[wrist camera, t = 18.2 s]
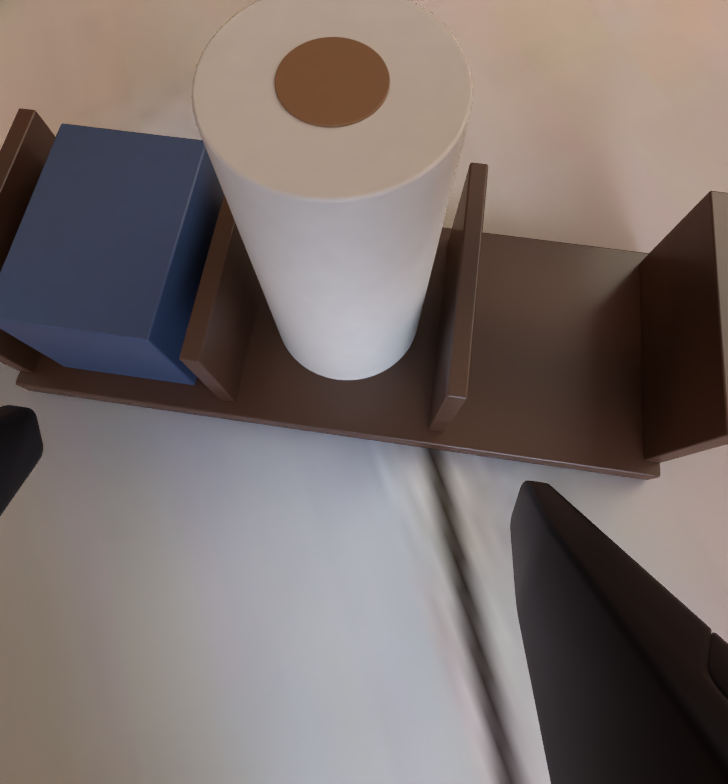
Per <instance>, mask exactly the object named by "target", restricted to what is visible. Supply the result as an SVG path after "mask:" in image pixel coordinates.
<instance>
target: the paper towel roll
mask: <svg viewBox="0 0 728 784" xmlns="http://www.w3.org/2000/svg"><path fill="white" fill-rule="evenodd" d="M472 103H473V84H472V77H471V72H470V68H469V65H468V62H467V59H466V56H465V54H464V52H463V50H462V48H461V46H460V44H459V43H458V42H457V40H456V39H455V37H454V36H453V34H452V33H451V32H450V31H449V30H448V29H447V28H446V26H445V25H444V24H443V23H442V22H441V21H440V20H438V19H437V18H436V17H435V16H434V15H432V14H431V13H430V12H428V11H427V10H425V9H424V8H422V7H421V6H419V5H418V4H416V3H414V2H412V1H410V0H259V1H257V2H255V3H253V4H251V5H250V6H248V7H246V8H244V9H243V10H241V11H240V12H239V13H237V14H236V15H235V16H233V17H232V18H231V19H229V20H228V21H227V22H226V23H225V24H224V25H223V26H222V27H221V28H220V29H219V30H218V31H217V32H216V34H215V35H214V36H213V37H212V38H211V40H210V41H209V43H208V44H207V46H206V48H205V49H204V51H203V52H202V55H201V57H200V59H199V62H198V64H197V66H196V70H195V74H194V78H193V87H192V106H193V113H194V117H195V121H196V125H197V127H198V130H199V132H200V135H201V137H202V140H203V142H204V145H205V147H206V150H207V152H208V155H209V157H210V160H211V162H212V165H213V167H214V170H215V172H216V175H217V178H218V180H219V183H220V185H221V188H222V190H223V193H224V195H225V198H226V200H227V203H228V205H229V208H230V210H231V213H232V215H233V218H234V220H235V223H236V225H237V228H238V230H239V233H240V235H241V238H242V240H243V243H244V245H245V248H246V250H247V253H248V255H249V258H250V260H251V263H252V265H253V268H254V270H255V273H256V275H257V278H258V280H259V283H260V285H261V288H262V290H263V293H264V295H265V298H266V300H267V303H268V305H269V308H270V310H271V313H272V315H273V318H274V321H275V323H276V326H277V328H278V331H279V333H280V336H281V338H282V340H283V342H284V345H285V346H286V348H287V349H288V351H289V352H290V354H291V355H292V356H293V357H294V358H295V359H296V360H297V361H298V362H299V363H300V364H301V365H303V366H304V367H305V368H307V369H308V370H310V371H312V372H314V373H316V374H318V375H321V376H324V377H327V378H331V379H336V380H358V379H364V378H368V377H371V376H374V375H377V374H379V373H381V372H383V371H385V370H387V369H388V368H390V367H391V366H393V365H394V364H395V363H396V362H398V361H399V360H400V359H401V358H402V356H403V355H404V354H405V353H406V352H407V350H408V349H409V347H410V345H411V344H412V342H413V340H414V337H415V334H416V332H417V328H418V324H419V320H420V316H421V311H422V307H423V303H424V299H425V295H426V291H427V287H428V283H429V279H430V275H431V271H432V267H433V263H434V259H435V255H436V251H437V247H438V243H439V239H440V235H441V231H442V227H443V222H444V218H445V214H446V210H447V206H448V202H449V198H450V194H451V190H452V186H453V182H454V178H455V174H456V170H457V166H458V162H459V158H460V154H461V150H462V146H463V142H464V137H465V133H466V129H467V125H468V121H469V117H470V112H471V108H472Z"/></svg>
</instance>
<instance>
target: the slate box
mask: <svg viewBox="0 0 728 784" xmlns="http://www.w3.org/2000/svg"><path fill="white" fill-rule="evenodd" d="M223 196H224V193H223V190H222V188H221V185H220V183H219V180H218V178H217V175H216V172H215V170H214V167H213V165H212V162H211V160H210V157H209V155H208V152H207V150H206V147H205V145H204V142H203V140H195V139H186V138H178V137H170V136H161V135H153V134H145V133H137V132H128V131H120V130H112V129H103V128H95V127H87V126H78V125H70V124H61V126H60V128H59V131H58V133H57V135H56V138H55V140H54V143H53V145H52V148H51V150H50V153H49V155H48V157H47V160H46V162H45V165H44V167H43V170H42V172H41V174H40V177H39V179H38V182H37V184H36V187H35V189H34V192H33V194H32V196H31V199H30V201H29V204H28V206H27V209H26V211H25V213H24V216H23V218H22V221H21V223H20V226H19V228H18V230H17V233H16V235H15V238H14V240H13V243H12V245H11V248H10V250H9V252H8V255H7V257H6V260H5V262H4V265H3V267H2V269H1V272H0V329H2V330H4V331H5V332H7V333H9V334H10V335H12V336H14V337H15V338H17V339H19V340H20V341H22V342H24V343H25V344H27V345H29V346H30V347H32V348H34V349H35V350H37V351H39V352H41V353H42V354H44V355H46V356H47V357H49V358H51V359H52V360H54V361H56V362H57V363H59V364H61V365H62V366H64V367H69V368H76V369H83V370H90V371H97V372H104V373H111V374H118V375H125V376H132V377H139V378H146V379H153V380H160V381H167V382H175V383H182V384H189V385H195V383H196V379H197V376H196V375H195V374H194V373H193V372H192V371H191V370H190V369H189V368H188V367H187V366H186V365H185V364H184V363H183V362H182V361H181V360H180V359H179V357H180V353H181V349H182V346H183V342H184V338H185V335H186V331H187V328H188V324H189V320H190V317H191V313H192V309H193V306H194V302H195V298H196V295H197V291H198V287H199V284H200V280H201V277H202V273H203V269H204V266H205V262H206V258H207V255H208V251H209V247H210V244H211V240H212V236H213V233H214V229H215V226H216V222H217V218H218V215H219V211H220V207H221V204H222V200H223Z"/></svg>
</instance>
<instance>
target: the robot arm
mask: <svg viewBox="0 0 728 784" xmlns="http://www.w3.org/2000/svg"><path fill="white" fill-rule="evenodd" d="M42 453H43V442H42V438H41V434H40V430H39V425H38V421H37V417H36V414H35V413H34V411H33V410H31V409H30V408H26V407H19V406H12V405H7V406H2V407H0V516H1V514H2V513H3V511H4V510H5V509H6V507H7V506H8V504H9V503H10V501H11V500H12V499H13V497H14V496H15V494H16V493H17V491H18V490H19V488H20V487H21V486H22V484H23V483H24V481H25V480H26V478H27V477H28V476H29V474H30V473H31V471H32V470H33V468H34V467H35V466H36V464H37V463H38V461H39V460H40V458H41V456H42ZM510 530H511V543H512V556H513V569H514V582H515V595H516V605H517V612H518V618H519V624H520V629H521V634H522V639H523V644H524V649H525V654H526V659H527V664H528V669H529V674H530V679H531V684H532V689H533V694H534V699H535V704H536V709H537V715H538V720H539V725H540V730H541V735H542V740H543V745H544V750H545V755H546V760H547V765H548V770H549V775H550V780H551V784H728V643H727V642H725V641H724V640H723V639H722V638H721V637H720V636H719V635H718V634H716V633H712V634H711V628H710V627H708V626H707V625H706V624H705V623H704V622H703V621H702V620H701V619H699V618H698V617H697V616H696V615H695V614H694V613H693V612H692V611H690V610H689V609H688V608H687V607H686V606H685V605H684V604H683V603H682V602H680V601H679V600H678V599H677V598H676V597H675V596H674V595H673V594H671V593H670V592H669V591H668V590H667V589H666V588H665V587H664V586H662V585H661V584H660V583H659V582H658V581H657V580H656V579H655V578H654V577H652V576H651V575H650V574H649V573H648V572H647V571H646V570H645V569H643V568H642V567H641V566H640V565H639V564H638V563H637V562H636V561H634V560H633V559H632V558H631V557H630V556H629V555H628V554H627V553H625V552H624V551H623V550H622V549H621V548H620V547H619V546H618V545H617V544H615V543H614V542H613V541H612V540H611V539H610V538H609V537H608V536H606V535H605V534H604V533H603V532H602V531H601V530H600V529H599V528H597V527H596V526H595V525H594V524H593V523H592V522H591V521H590V520H589V519H587V518H586V517H585V516H584V515H583V514H582V513H581V512H580V511H578V510H577V509H576V508H575V507H574V506H573V505H572V504H571V503H569V502H568V501H567V500H566V499H565V498H564V497H563V496H562V495H560V494H559V493H558V492H557V491H556V490H555V489H554V488H553V487H552V486H550V485H549V484H547V483H542V482H535V481H525V482H524V483H523V484H522V486H521V488H520V491H519V494H518V497H517V501H516V504H515V507H514V510H513V513H512V517H511V524H510Z"/></svg>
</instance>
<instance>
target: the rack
mask: <svg viewBox="0 0 728 784" xmlns="http://www.w3.org/2000/svg"><path fill="white" fill-rule="evenodd" d="M55 138H56V137H55V136H54V134H53V133H52V132H51V130H50V129H49V128H48V126H47V125H46V124H45V122H44V121H43V120H42V118H41V117H40V116H39V114H38V113H37V112H36V111H35V110H29V109H19V110H18V112H17V115H16V117H15V119H14V121H13V124H12V126H11V128H10V130H9V133H8V135H7V137H6V139H5V141H4V144H3V146H2V148H1V150H0V272H1V269H2V267H3V265H4V262H5V260H6V257H7V255H8V252H9V250H10V248H11V245H12V243H13V240H14V238H15V235H16V233H17V230H18V228H19V226H20V223H21V221H22V218H23V216H24V213H25V211H26V209H27V206H28V204H29V201H30V199H31V196H32V194H33V192H34V189H35V187H36V184H37V182H38V179H39V177H40V174H41V172H42V170H43V167H44V165H45V162H46V160H47V157H48V155H49V153H50V150H51V148H52V145H53V143H54V140H55ZM487 175H488V165H487V164H479V163H471V164H470V165H469V169H468V173H467V176H466V180H465V183H464V187H463V191H462V194H461V198H460V201H459V205H458V209H457V212H456V216H455V219H454V223H453V227H452V229H450V228H442V231H441V235H440V239H439V243H438V247H437V251H436V255H435V259H434V263H433V267H432V271H431V275H430V279H429V283H428V287H427V291H426V295H425V299H424V303H423V307H422V311H421V316H420V320H419V324H418V328H417V332H416V334H415V337H414V340H413V342H412V344H411V345H410V347H409V349H408V350H407V352H406V353H405V354H404V355H403V356H402V358H401V359H400V360H399V361H398V362H396V363H395V364H394V365H393V366H391V367H390V368H388V369H387V370H385V371H383V372H381V373H379V374H377V375H374V376H371V377H368V378H364V379H358V380H336V379H331V378H327V377H324V376H321V375H318V374H316V373H314V372H312V371H310V370H308V369H307V368H305V367H304V366H303V365H301V364H300V363H299V362H298V361H297V360H296V359H295V358H294V357H293V356H292V355H291V354H290V352H289V351H288V349H287V348H286V346H285V345H284V342H283V340H282V338H281V336H280V333H279V331H278V328H277V326H276V323H275V321H274V318H273V315H272V313H271V310H270V308H269V305H268V303H267V300H266V298H265V295H264V293H263V290H262V288H261V285H260V283H259V280H258V278H257V275H256V273H255V270H254V268H253V265H252V263H251V260H250V258H249V255H248V253H247V250H246V248H245V245H244V243H243V240H242V238H241V235H240V233H239V230H238V228H237V225H236V223H235V220H234V218H233V215H232V213H231V210H230V208H229V205H228V203H227V200H226V198H225V195H224V196H223V200H222V204H221V207H220V211H219V215H218V218H217V222H216V226H215V229H214V233H213V236H212V240H211V244H210V247H209V251H208V255H207V258H206V262H205V266H204V269H203V273H202V277H201V280H200V284H199V287H198V291H197V295H196V298H195V302H194V306H193V309H192V313H191V317H190V320H189V324H188V328H187V331H186V335H185V338H184V342H183V346H182V349H181V353H180V357H179V359H180V360H181V361H182V362H183V363H184V364H185V365H186V366H187V367H188V368H189V369H190V370H191V371H192V372H193V373H194V374H195V375H196V376H197V379H196V383H195V385H189V384H182V383H175V382H167V381H160V380H153V379H146V378H139V377H132V376H125V375H118V374H111V373H104V372H97V371H90V370H83V369H76V368H69V367H64V366H62V365H61V364H59V363H57V362H56V361H54V360H52V359H51V358H49V357H47V356H46V355H44V354H42V353H41V352H39V351H37V350H35V349H34V348H32V347H30V346H29V345H27V344H25V343H24V342H22V341H20V340H19V339H17V338H15V337H14V336H12V335H10V334H9V333H7V332H5V331H4V330H2V329H0V362H2V363H4V364H6V365H8V366H10V367H12V368H14V369H16V370H18V371H20V373H19V375H18V378H17V381H16V384H17V385H18V386H20V387H23V388H25V389H27V390H30V391H37V392H44V393H51V394H58V395H64V396H71V397H78V398H85V399H92V400H99V401H106V402H113V403H120V404H127V405H134V406H141V407H148V408H154V409H161V410H168V411H175V412H182V413H189V414H196V415H203V416H210V417H217V418H224V419H231V420H238V421H244V422H251V423H258V424H265V425H272V426H279V427H286V428H293V429H300V430H307V431H314V432H321V433H327V434H334V435H341V436H348V437H355V438H362V439H369V440H376V441H383V442H390V443H397V444H404V445H411V446H417V447H424V448H431V449H438V450H445V451H452V452H459V453H466V454H473V455H480V456H487V457H494V458H501V459H507V460H514V461H521V462H528V463H535V464H542V465H549V466H556V467H563V468H570V469H577V470H584V471H590V472H597V473H604V474H611V475H618V476H625V477H632V478H639V479H646V480H649V479H653V478H657V477H660V463H661V462H664V461H668V460H672V459H675V458H679V457H682V456H686V455H690V454H693V453H697V452H700V451H704V450H708V449H711V448H715V447H718V446H722V445H726V444H728V193H724V192H715V191H710V192H709V193H708V194H707V195H706V196H705V197H704V198H703V199H702V200H701V201H700V202H699V203H698V204H697V205H696V206H695V207H694V208H693V209H692V210H691V211H690V212H689V213H688V214H687V215H686V216H685V217H684V218H683V219H682V220H681V221H680V222H679V223H678V224H677V225H676V227H675V228H674V229H673V230H672V231H671V232H670V233H669V234H668V235H667V236H666V237H665V238H664V239H663V240H662V241H661V242H660V243H659V244H658V245H657V246H656V247H655V248H654V249H653V250H652V251H651V252H650V253H642V252H634V251H626V250H618V249H610V248H602V247H594V246H586V245H578V244H570V243H562V242H554V241H546V240H538V239H530V238H522V237H514V236H506V235H498V234H490V233H482V231H483V220H484V208H485V197H486V186H487Z"/></svg>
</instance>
